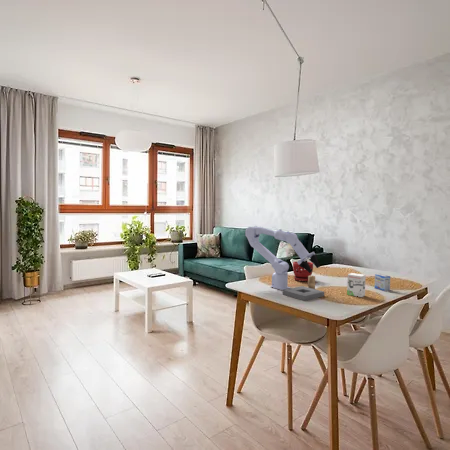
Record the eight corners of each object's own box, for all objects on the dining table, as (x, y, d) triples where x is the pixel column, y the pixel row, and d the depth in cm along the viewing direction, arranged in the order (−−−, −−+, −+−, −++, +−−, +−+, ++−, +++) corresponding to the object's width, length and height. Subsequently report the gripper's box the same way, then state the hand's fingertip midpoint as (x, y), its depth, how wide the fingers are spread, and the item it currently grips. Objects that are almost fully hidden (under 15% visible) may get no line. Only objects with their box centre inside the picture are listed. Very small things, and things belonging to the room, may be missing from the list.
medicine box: (374, 288, 209) (374, 274, 209) (379, 287, 211) (380, 273, 210) (384, 291, 202) (384, 276, 202) (390, 290, 204) (390, 275, 203)
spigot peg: (306, 289, 206) (306, 276, 205) (311, 288, 208) (311, 275, 208) (312, 290, 203) (312, 277, 202) (316, 289, 205) (316, 276, 205)
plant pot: (314, 282, 225) (315, 264, 224) (294, 282, 225) (294, 263, 225) (310, 278, 238) (310, 260, 238) (291, 277, 238) (291, 260, 238)
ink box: (346, 294, 194) (347, 273, 193) (350, 293, 197) (350, 272, 197) (362, 297, 188) (362, 276, 187) (365, 295, 192) (365, 274, 191)
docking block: (282, 294, 194) (282, 290, 194) (302, 290, 204) (302, 286, 203) (304, 300, 181) (304, 296, 181) (324, 296, 191) (324, 291, 190)
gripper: (297, 251, 195) (311, 271, 191) (311, 242, 203) (326, 261, 200) (290, 257, 200) (304, 276, 196) (305, 248, 209) (319, 267, 205)
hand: (315, 269), depth 198 cm, fingers open, 7 cm apart
